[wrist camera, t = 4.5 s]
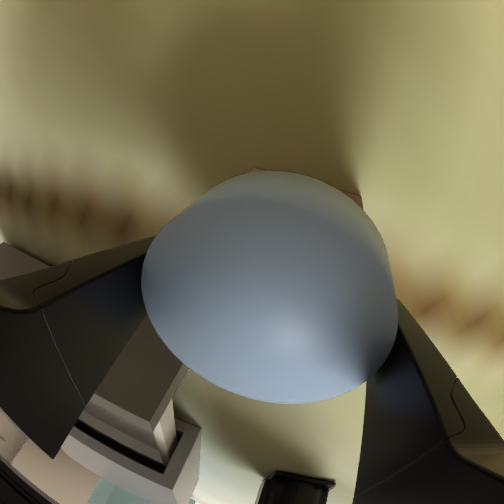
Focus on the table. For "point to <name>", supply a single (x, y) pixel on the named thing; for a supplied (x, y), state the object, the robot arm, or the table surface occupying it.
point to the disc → (273, 289)
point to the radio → (115, 495)
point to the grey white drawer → (127, 383)
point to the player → (140, 463)
